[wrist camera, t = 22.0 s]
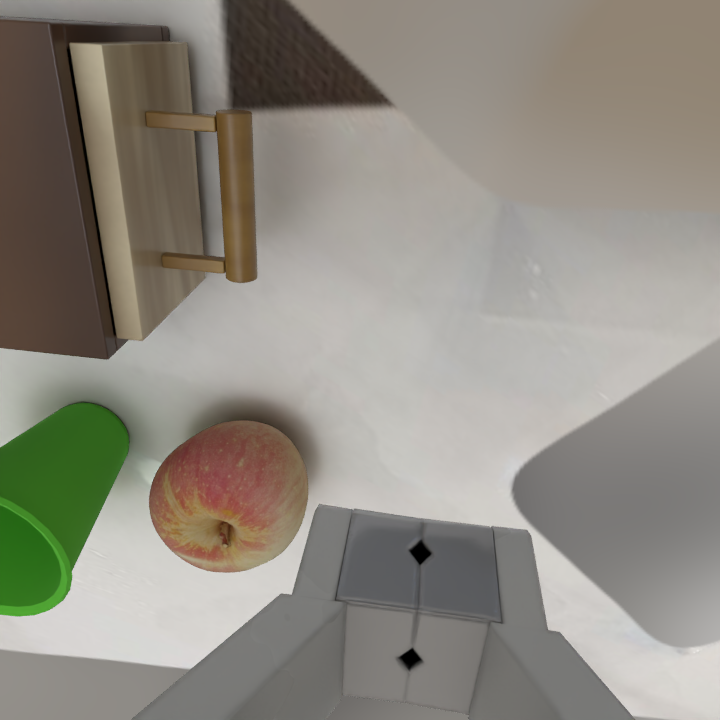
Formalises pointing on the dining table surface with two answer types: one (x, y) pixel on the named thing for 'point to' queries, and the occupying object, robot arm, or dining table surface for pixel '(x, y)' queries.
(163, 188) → the drawer
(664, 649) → the dining table surface
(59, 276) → the cabinet
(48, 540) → the cup
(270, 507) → the apple
